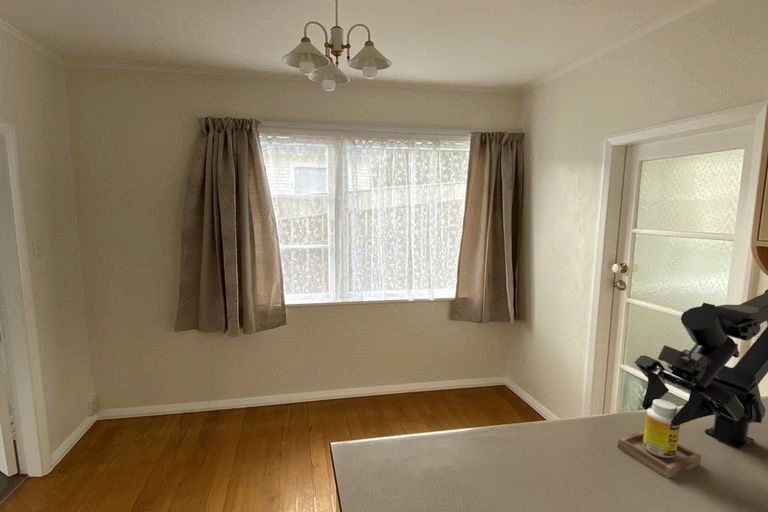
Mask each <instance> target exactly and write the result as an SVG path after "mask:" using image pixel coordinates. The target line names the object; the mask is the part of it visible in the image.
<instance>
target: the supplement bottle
mask: <svg viewBox="0 0 768 512" xmlns="http://www.w3.org/2000/svg"><path fill="white" fill-rule="evenodd" d="M677 410H678V406H677V405H676V403H674V402H672V401H668V400H667V399H663V398H660V399H655V400H653V404H652V406H651V407H649V408H648V409H646V415H645V423H644V430H645V431H644V439H643V445H644V447H645V449H646V450H647V451H649V452H650V453H652V454H654V455H656V456H659V457H662V458H672V457H674V456H675V455H676V451H677V443H678V444H679V437H680V436H679V434H680V427H681V424H680V425H677V426H673V425H672V424H671V421H672V420H673V418H674V416H675V415H676V414H677V413H678V411H677Z"/></svg>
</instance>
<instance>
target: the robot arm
mask: <svg viewBox="0 0 768 512" xmlns="http://www.w3.org/2000/svg"><path fill="white" fill-rule="evenodd" d="M680 320H681V323H682V325H683V327H684V329H685V331H686V332H687V334H688V335H689V337H690V339H691V340H692V342H693V343H695V344H694V346H693V347H692V348H691V349H690V350H688V349H687V348H684V349H683V350H682V351H681V350H678V349H677V348H674V347H671V346H668V345H663V347H662V349H661V351H660V353H659V355H658V357H657V359H655V358H652V357H650V356H648V355H640V356H639V357H638V358H637V359H636V360H635V361H634V364H635V366H637V368H638V369H639V370H640V372H641V373H642V374H643V375H644V377H646V378H647V380H648V381H647V386H646V391H645V394H644V398H643V401H642V406H641V407H642V408H643V409H644V410H646V411H647V409H648V408H650V407H652V404H653V400H655V399H662V397H663V396H665V395H666V394H667V393H668V392H669V391H670V390H669V388H668V387H667V386H666V384H667V382H670V383H671V384H673V385H675V386H677V387H679V388H682V389H684V390H687V391H689V392H690V393H689V396H688V400H687V401H686V402H685V404H684V405H683V406H682V407H681V408H680V409H679V410H678V411H677V413H676V415H675V416H674V418H673V420H672V421H671V424H672V425H673V426H677V425H680V426H681V425H683V424H686V423H689V422H691V421H694V420H698V419H702V418H705V417H709V416H714V420H713V426H712V427H709V428H707V429H705V430H704V433H705V434H707V435H710V436H711V437H714V438H715V439H718V440H720V441H722V442H724V443H726V444H728V445H730V446H733V447H735V448H737V449H742V448H744V447H746V446H749V445H750V444H751V445H752V444H753V443H755V441H756V440H755V439H754V438H751V437H749V429H750V425H751V424H752V423H753V424H754V423H758V424H762V423H763V419H764V417H765V416H766V415H765V414H766V408H765V405H764V403H763V401H762V399H761V398H762V396H761V391H760V387H759V384H760V382H761V381H762V380H763V379H764V378H765V376H766V375H767V374H768V289H765V291H764V292H763V293H762V294H760V295H757V296H755V297H753V298H751V299H749V300H747V301H745V302H742V303H740V304H721V305H716V304H712V303H707V302H703V303H702V304H701V306H694V307H691V308H689V309H687V310H685V311H683V313H681V316H680ZM765 322H766V324H767V326H766V328H764V330H763V331H762V332H761V329H762V328H761V324H763V323H765ZM760 332H761V334H760V335H758V334H759V333H760ZM756 336H758V338H756V340H755V341H753V343H752V344H751V346H750V347H749V348H748V349H747V351H746V352H745V353H744V354H743V356H741V357H740V351H739V345H738V343H736V342H735V341H734V338H735V339H737V340H738V339H739V340H742V341H751V339H753V338H755V337H756ZM732 357H734V358H739V357H740V359H739V361H737V363H736V364H735V365H734V366H733V367H731V366H727V363H728V362H729V361H730V360H731V359H732ZM661 361H662V362H665V363H667V365H666V366H667V368H668V369H669V370H671V371H672V372H671V371H668V370H667V369H666V368H665V367H664V365H663V364H662V363H661Z"/></svg>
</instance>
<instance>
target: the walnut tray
mask: <svg viewBox="0 0 768 512" xmlns="http://www.w3.org/2000/svg"><path fill="white" fill-rule="evenodd" d="M644 431H645V429H644V430H641V431H638V432H635V433H632V434H628V435H626V436H625V435H624V436H622V437H619V438H618V442H617V443H618V444H617V448H618V449H619V450H621V451H622V452H623V453H626V454H628V455H630V456H631V457H633V458H634V459H636V460H638V461H639V462H641V463H643V464H644V465H645V466H647V467H649V468H651V469H652V470H654V471H655V472H657V473H659V474H660V475H662V476H664V477H665V478H667V479H671V478H673V477H675V476H678V475H679V474H682V473H685V472H687V471H690V470H691V469H694V468H696V467H698V466H700V463H701V459H702V455H700V454H699V453H696V452H695V451H693V450H691V449H690V448H687V447H685V446H683V445H681V444H679V442H678V443H677V451H676V455H675V456H674V457H672V458H662V457H659V456H656V455H654V454H652V453H650V452H649V451H647V450H646V449H645V447H644V445H643V439H644Z"/></svg>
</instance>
